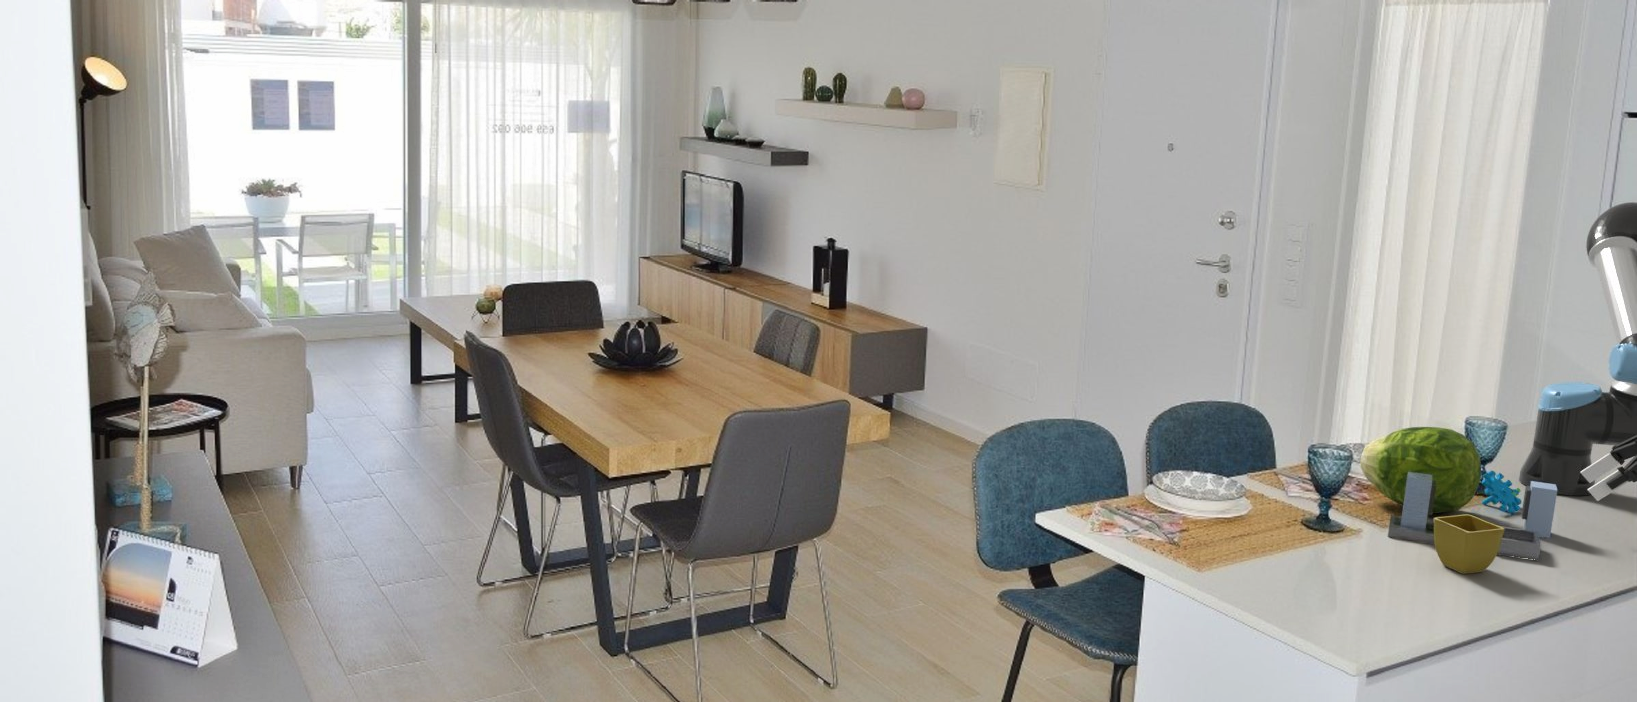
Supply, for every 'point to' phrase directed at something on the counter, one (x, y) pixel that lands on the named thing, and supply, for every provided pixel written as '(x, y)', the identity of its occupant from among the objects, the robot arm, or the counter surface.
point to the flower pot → (1466, 542)
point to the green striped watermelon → (1424, 464)
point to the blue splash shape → (1501, 492)
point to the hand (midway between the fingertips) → (1588, 486)
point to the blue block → (1539, 507)
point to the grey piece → (1421, 530)
